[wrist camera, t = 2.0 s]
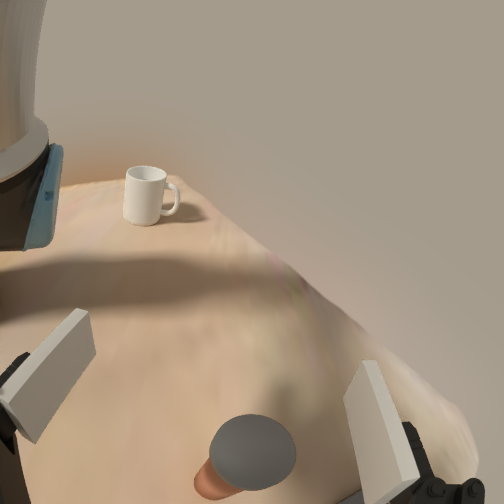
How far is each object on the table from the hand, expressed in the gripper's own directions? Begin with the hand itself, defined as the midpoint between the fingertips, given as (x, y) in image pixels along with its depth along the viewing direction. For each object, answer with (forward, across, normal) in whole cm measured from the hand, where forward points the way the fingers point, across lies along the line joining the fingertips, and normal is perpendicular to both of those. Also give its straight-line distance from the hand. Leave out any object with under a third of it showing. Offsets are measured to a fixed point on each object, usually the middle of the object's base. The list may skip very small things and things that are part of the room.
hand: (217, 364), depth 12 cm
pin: (+2, +1, -20) cm, 21 cm away
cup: (+46, -22, -8) cm, 52 cm away
